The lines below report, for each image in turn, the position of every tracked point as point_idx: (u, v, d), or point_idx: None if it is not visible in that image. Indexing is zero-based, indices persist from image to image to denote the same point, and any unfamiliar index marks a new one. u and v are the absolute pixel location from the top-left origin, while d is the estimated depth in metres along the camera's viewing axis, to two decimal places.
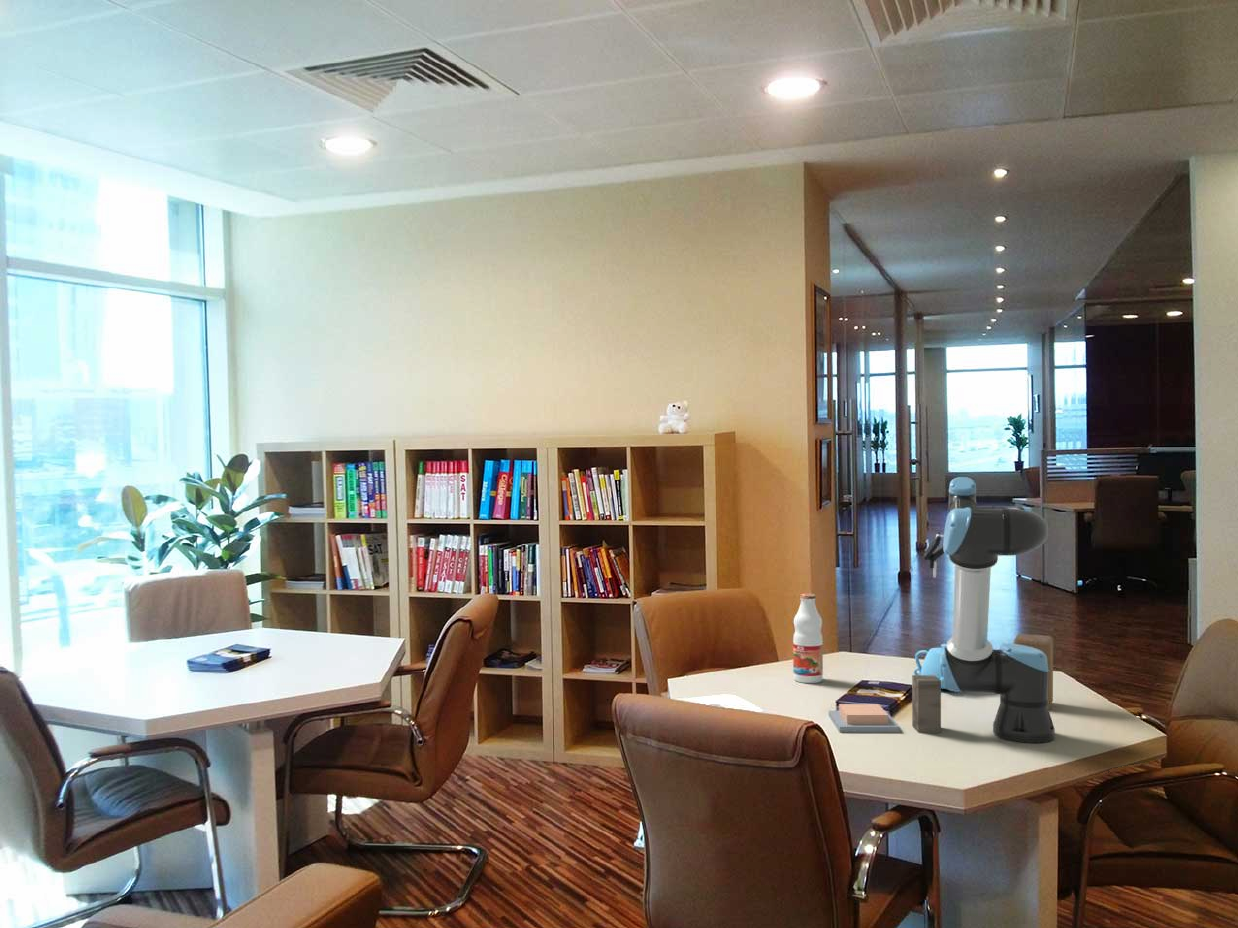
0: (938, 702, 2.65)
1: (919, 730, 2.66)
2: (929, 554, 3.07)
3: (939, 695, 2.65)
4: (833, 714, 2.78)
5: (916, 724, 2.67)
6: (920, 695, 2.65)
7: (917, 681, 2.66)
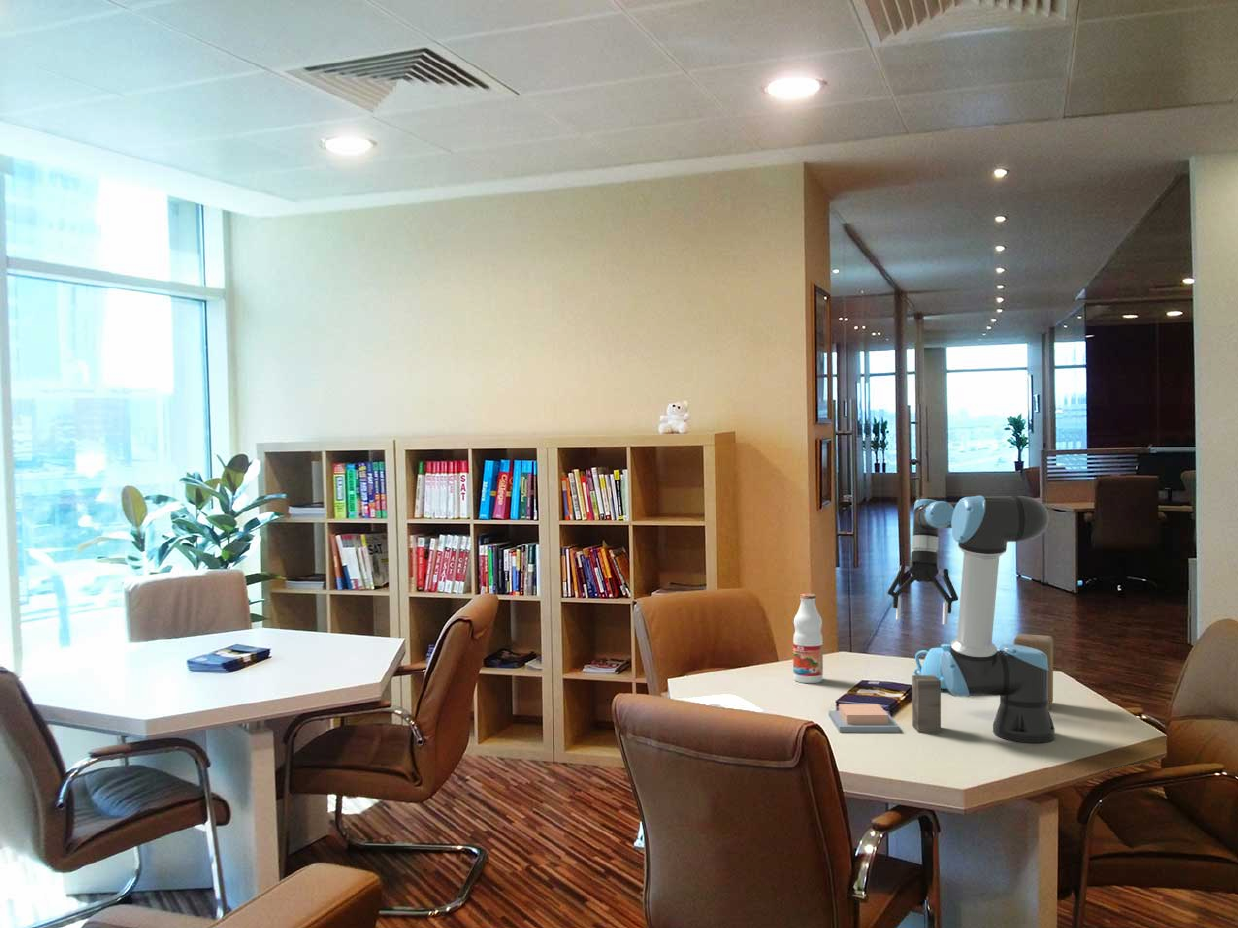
0: (938, 702, 2.65)
1: (919, 730, 2.66)
2: (893, 587, 2.98)
3: (939, 695, 2.65)
4: (833, 714, 2.78)
5: (916, 724, 2.67)
6: (920, 695, 2.65)
7: (917, 681, 2.66)
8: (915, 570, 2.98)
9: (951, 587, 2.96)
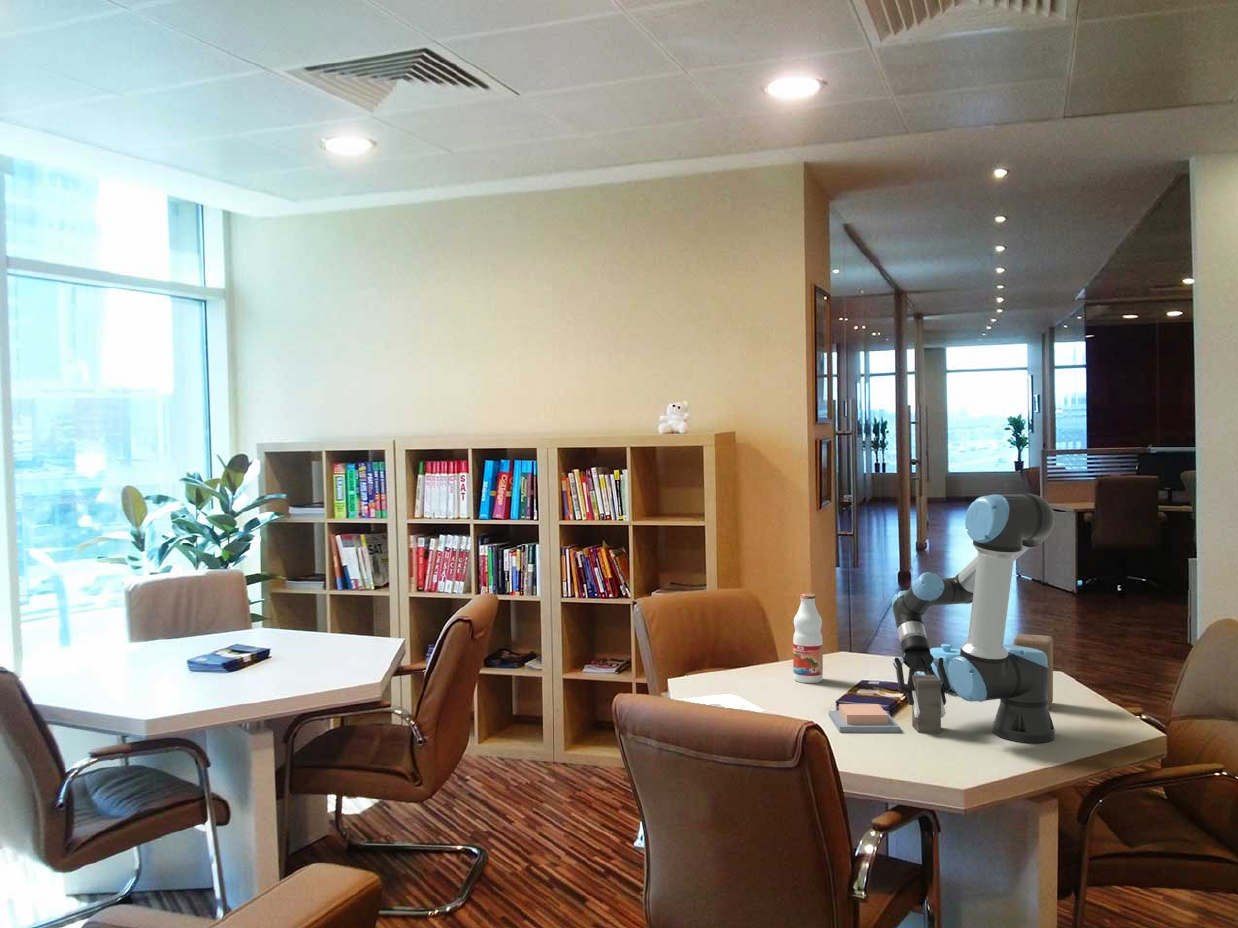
0: (938, 702, 2.65)
1: (919, 730, 2.66)
2: (902, 680, 2.71)
3: (939, 695, 2.65)
4: (833, 714, 2.78)
5: (916, 724, 2.67)
6: (920, 695, 2.65)
7: (917, 681, 2.66)
8: (909, 658, 2.76)
9: (944, 675, 2.71)
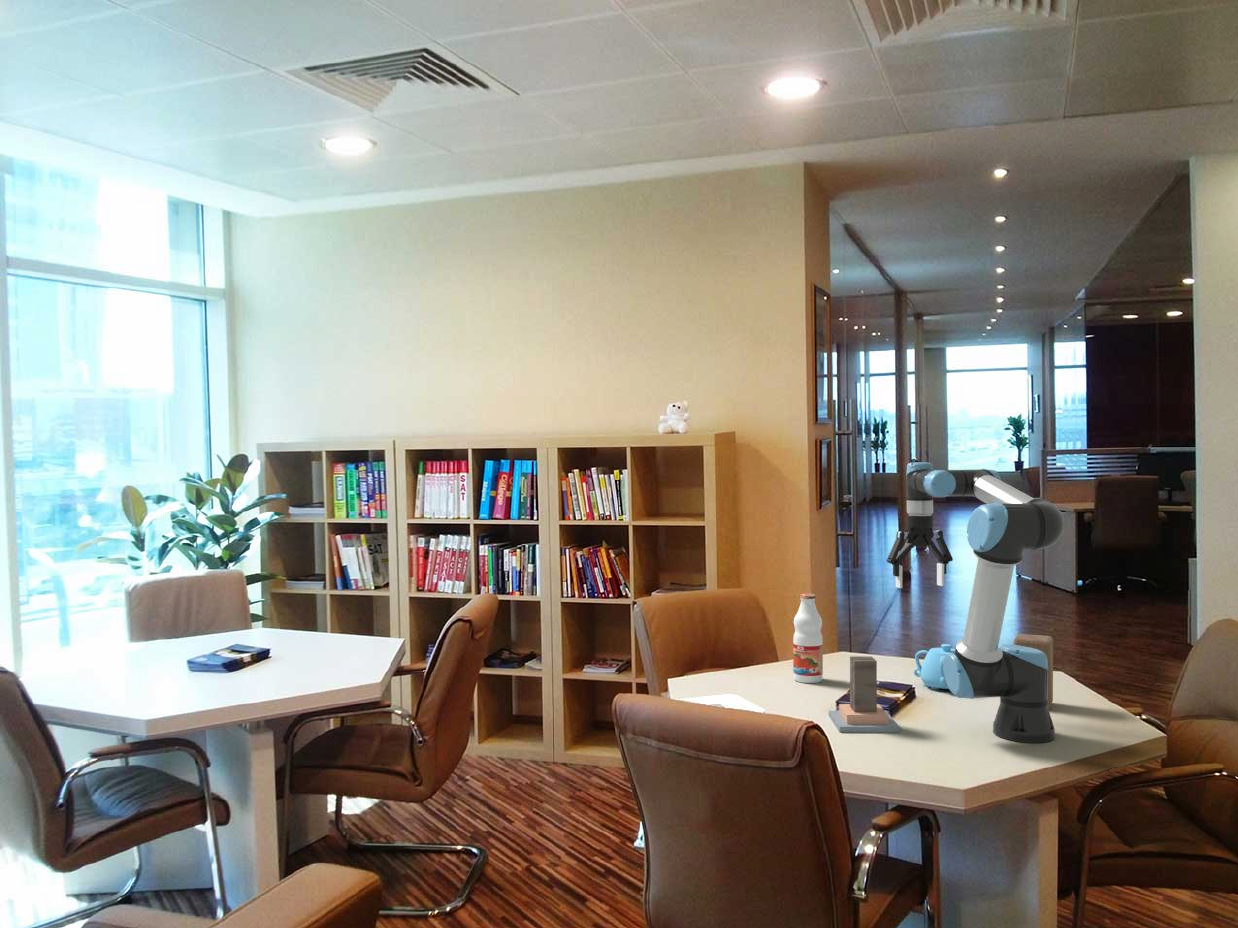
0: (874, 682, 2.71)
1: (855, 710, 2.71)
2: (895, 555, 2.90)
3: (875, 675, 2.71)
4: (833, 714, 2.78)
5: (853, 704, 2.73)
6: (856, 676, 2.71)
7: (853, 662, 2.71)
8: (913, 536, 2.92)
9: (946, 548, 2.94)
